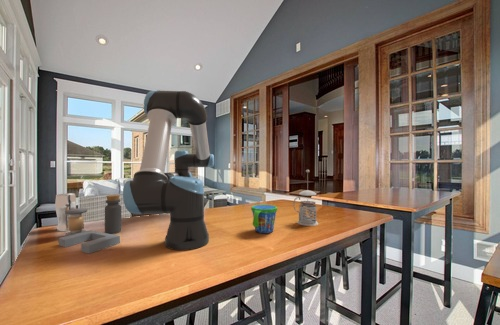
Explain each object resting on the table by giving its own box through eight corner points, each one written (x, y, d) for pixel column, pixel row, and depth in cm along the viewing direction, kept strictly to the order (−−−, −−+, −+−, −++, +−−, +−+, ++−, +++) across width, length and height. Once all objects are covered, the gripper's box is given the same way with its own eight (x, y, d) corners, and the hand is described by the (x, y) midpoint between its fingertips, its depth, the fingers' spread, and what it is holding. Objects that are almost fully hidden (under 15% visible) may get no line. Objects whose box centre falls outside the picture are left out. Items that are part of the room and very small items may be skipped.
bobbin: (91, 234, 93) (90, 209, 93) (71, 239, 87) (71, 212, 87) (80, 231, 96) (80, 207, 96) (60, 236, 90) (60, 210, 90)
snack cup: (263, 224, 106) (263, 202, 106) (284, 228, 100) (284, 205, 100) (242, 233, 93) (242, 208, 93) (264, 238, 87) (264, 211, 87)
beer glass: (51, 230, 98) (51, 195, 98) (69, 226, 104) (69, 192, 104) (62, 232, 95) (61, 195, 95) (79, 228, 101) (79, 193, 101)
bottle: (113, 234, 92) (113, 196, 92) (101, 233, 93) (101, 196, 93) (124, 230, 98) (124, 194, 98) (112, 229, 99) (112, 194, 99)
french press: (321, 225, 104) (321, 170, 104) (295, 225, 104) (295, 170, 104) (315, 220, 114) (315, 169, 114) (291, 220, 114) (291, 169, 114)
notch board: (119, 242, 83) (119, 235, 83) (88, 253, 73) (88, 245, 73) (90, 236, 90) (90, 230, 90) (58, 245, 80) (58, 238, 80)
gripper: (187, 187, 119) (154, 193, 100) (152, 185, 130) (116, 190, 110) (187, 173, 119) (154, 176, 100) (152, 171, 129) (115, 174, 110)
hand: (134, 183), depth 105 cm, fingers open, 13 cm apart
